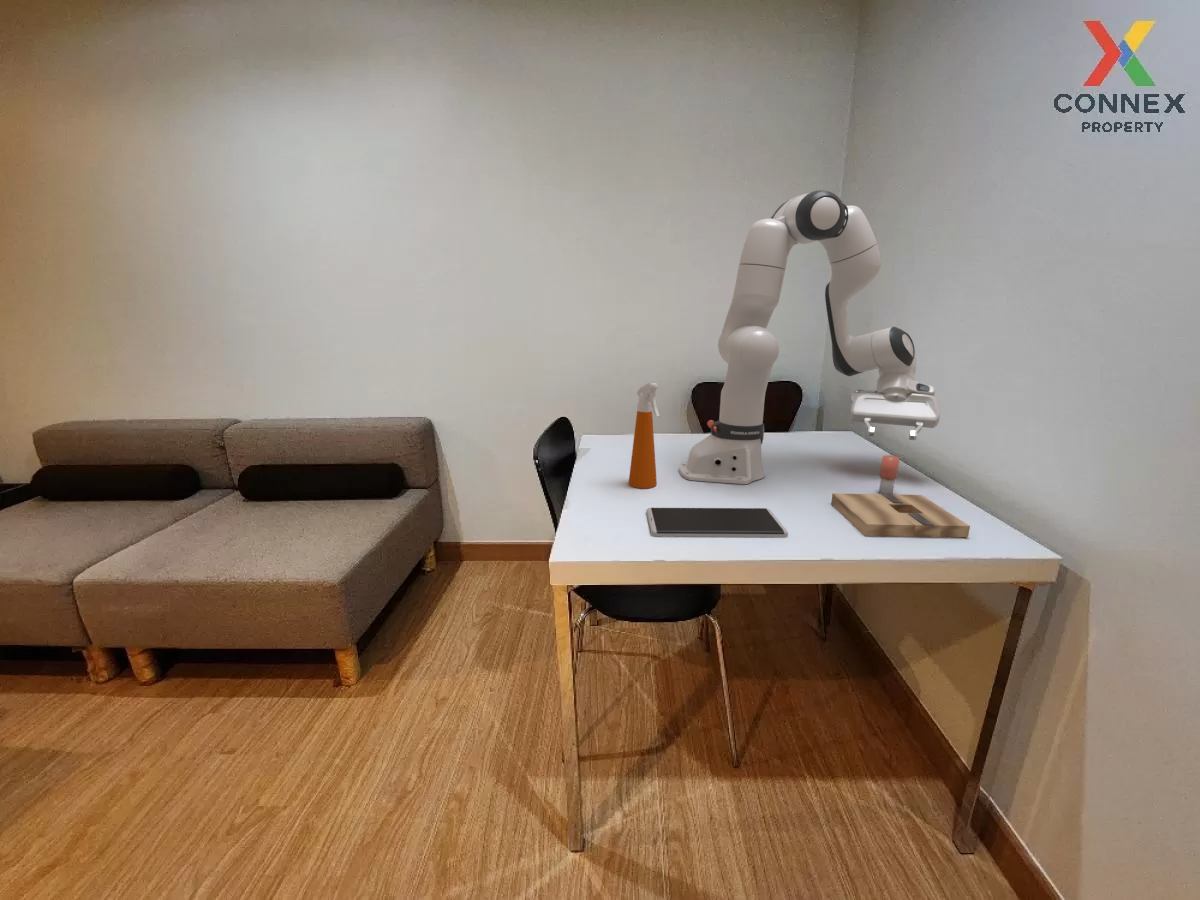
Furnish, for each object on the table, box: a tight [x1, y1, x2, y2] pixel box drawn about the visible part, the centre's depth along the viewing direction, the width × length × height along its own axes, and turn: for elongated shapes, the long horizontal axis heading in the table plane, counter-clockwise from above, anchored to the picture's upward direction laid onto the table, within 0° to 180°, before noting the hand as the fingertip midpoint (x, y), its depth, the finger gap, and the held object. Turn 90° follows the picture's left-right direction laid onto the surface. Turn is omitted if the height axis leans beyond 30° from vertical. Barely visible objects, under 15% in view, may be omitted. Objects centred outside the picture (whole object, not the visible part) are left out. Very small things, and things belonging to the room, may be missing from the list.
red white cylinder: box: [878, 455, 900, 494], centre depth 133 cm, size 4×4×9 cm
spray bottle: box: [628, 382, 660, 490], centre depth 134 cm, size 7×11×26 cm, turn 22°
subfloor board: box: [830, 492, 971, 538], centre depth 117 cm, size 20×18×3 cm
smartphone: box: [646, 507, 789, 538], centre depth 115 cm, size 13×27×2 cm, turn 90°
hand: (891, 436), depth 138 cm, fingers open, 8 cm apart
